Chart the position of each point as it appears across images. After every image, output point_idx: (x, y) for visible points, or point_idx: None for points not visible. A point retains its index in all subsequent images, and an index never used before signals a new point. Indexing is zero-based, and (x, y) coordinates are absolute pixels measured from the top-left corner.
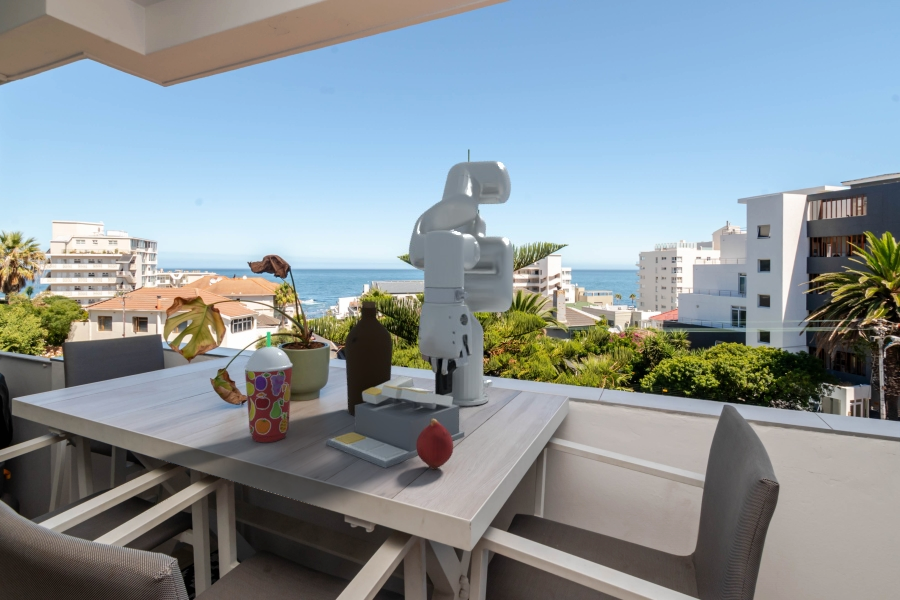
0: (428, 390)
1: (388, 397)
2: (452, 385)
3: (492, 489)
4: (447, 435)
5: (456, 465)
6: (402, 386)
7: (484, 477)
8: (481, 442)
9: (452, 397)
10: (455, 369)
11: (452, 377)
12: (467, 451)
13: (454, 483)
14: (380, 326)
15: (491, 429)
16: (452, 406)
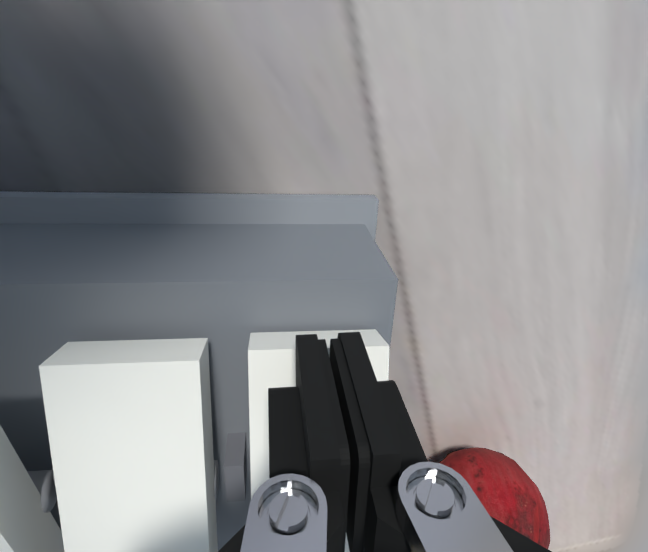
0: (168, 383)
1: (61, 538)
2: (399, 392)
3: (630, 440)
4: (549, 541)
5: (494, 406)
6: (8, 500)
7: (593, 411)
8: (473, 206)
9: (388, 350)
10: (495, 521)
11: (420, 446)
12: (470, 312)
13: (539, 471)
14: None
15: (432, 3)
16: (372, 315)
